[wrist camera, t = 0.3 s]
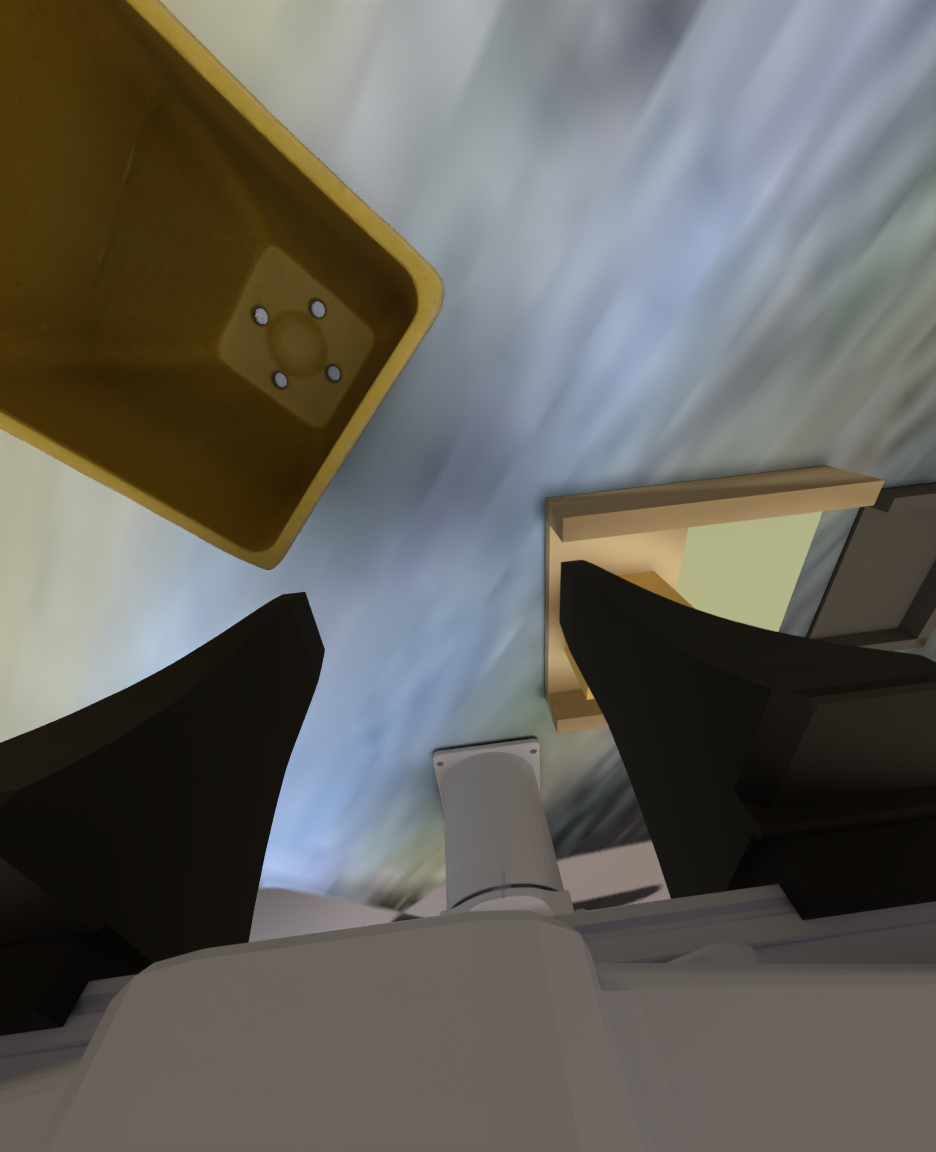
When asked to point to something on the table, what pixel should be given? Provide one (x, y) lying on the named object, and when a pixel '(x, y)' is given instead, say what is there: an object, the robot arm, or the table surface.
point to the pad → (746, 567)
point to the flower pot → (184, 278)
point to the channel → (664, 544)
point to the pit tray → (885, 575)
